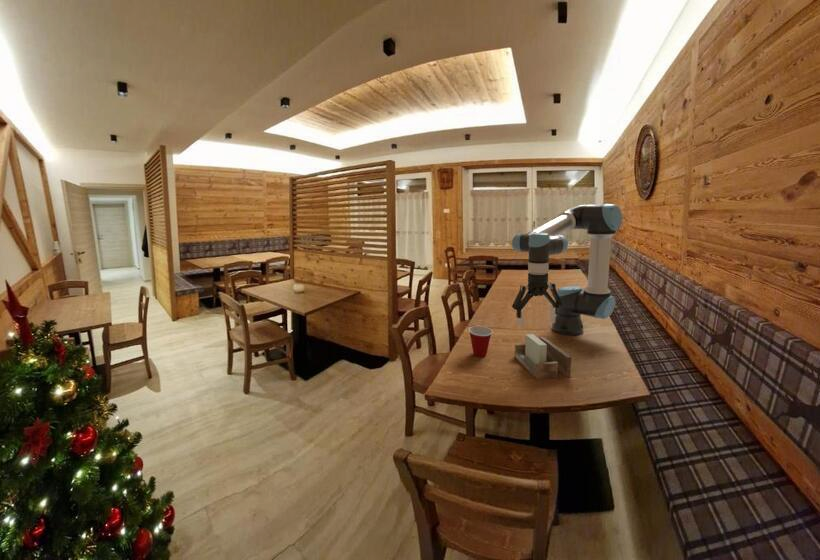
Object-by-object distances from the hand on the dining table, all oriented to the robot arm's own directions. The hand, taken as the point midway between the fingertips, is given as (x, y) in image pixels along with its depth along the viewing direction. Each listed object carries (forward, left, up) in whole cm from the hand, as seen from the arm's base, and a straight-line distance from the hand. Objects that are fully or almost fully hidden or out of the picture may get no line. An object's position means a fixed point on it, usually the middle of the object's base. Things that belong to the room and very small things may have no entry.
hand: (536, 323), depth 141 cm
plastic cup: (+18, -16, -19) cm, 31 cm away
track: (-2, 0, -19) cm, 19 cm away
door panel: (0, 0, -19) cm, 19 cm away
